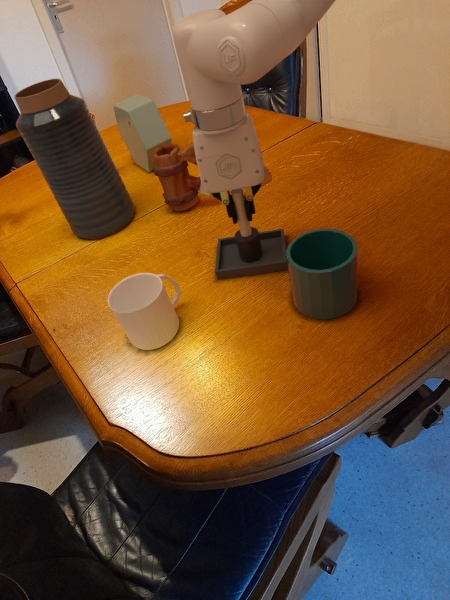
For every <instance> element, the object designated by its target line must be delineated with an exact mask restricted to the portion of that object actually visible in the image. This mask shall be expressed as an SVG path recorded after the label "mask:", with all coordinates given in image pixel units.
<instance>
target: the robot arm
mask: <svg viewBox="0 0 450 600" xmlns="http://www.w3.org/2000/svg"><path fill="white" fill-rule="evenodd" d="M335 2H336V0H251V1H249V2H247V3H246V4H243V6H241V7H239V8H237V9H235V10H233V11H232V12H230V13H228V14H226V13H225V12H224V11H223V10H222V9H218V8H209V9H204V10H199V11H195V12H194V13H190V14H188V15H185V16H183V17H181V18H179V19H178V20H177V21H176V22H175V23H174V24H173V27H172V33H171V34H172V39H173V44H174V47H175V52H176V55H177V58H178V63H179V66H180V69H181V74H182V77H183V80H184V81H183V82H184V84H185V89H186V92H187V96H188V99H189V103H190V109H189V110H188V111H186V112H185V111H184V112H183V120H184V122H185V123H189V122H190V123H192V124H193V125H194V126H193V129H192V143H193V144H194V150H195V156H196V161H197V165H196V166H197V170H198V174H199V177H200V179H201V185H200V191H199V194H200V195H204V196H209V197H211V196H212V197H213V198H215V199H217V200H218V201H220V202H222V205H224V206H225V209H226V214H227V217H228V218H229V219H231V220H232V223H233V224H232V225H236V224H238V219H237V215H236V211H235V206H234V202H233V198H232V194H231V191H232V190H235V189H241V188H242V189H243V191H244V205H245V209H246V214H247V219H248V221H249V222H250V223H251V222H253V215H255V214H256V207H255V201H254V197H255V196H256V195H257V193H258V192H259V191H260V190H261V188H262V187H264V186H265V187H266V185H268V184H270V183H271V182H272V181H273V175H272V173H271V172H270V171H269V168H267V165H266V164H265V163H264V159H263V154H262V149H261V145H260V141H259V137H258V134H257V133H258V132H257V130H256V126H255V124H254V121H253V118H252V116H251V114H250V113H248V112H246V107H245V101H244V96H243V95H244V94H243V91H242V90H243V89H242V86H241V85H250V84H252V83H253V84H254V83H255V82H257V81H258V80H260V79H262V77H264V76H265V75H266V74H268V73H269V72H270V71H272V70H273V69H274V68H275V67H276V66H277V65H279V63H281V62H283V60H285V59H286V58H287V57H289V56H290V55H291V54H292V53H293V52H295V51H296V50H297V49H298V47H300V45H301V44H302V43H303V42H304V41H305V39H306V38H308V36H309V34H310V33H311V32H312V31H313V30H314V28H315V27H316V26H317V25H318V23H319V22H321V20H322V18H323V17H324V16H325V15H326V13H327V12H328V11H329V10H330V9H331V7H332V6H333V4H334V3H335Z"/></svg>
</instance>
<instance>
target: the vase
mask: <svg viewBox="0 0 450 600" xmlns="http://www.w3.org/2000/svg"><path fill="white" fill-rule="evenodd" d="M14 99H15V102H16V104H17V107H18V109H19V111H20V114H19V116H18V118H17V120H16V122H15V126H16V128H17V131H18V132H19V133H20V136H21V138H23V141H24V143H25V144H26V147H27V148H28V150H29V152H30V154H31V156H32V158H33V159H34V161H35V163H36V165H37V167H38V169H39V171H40V173H41V174H42V176H43V178H44V180H45V182H46V184H47V186H48V188H49V190H50V191H51V192H52V195H53V197H54V199H55V201H56V202H57V205H58V207H59V208H60V211H61V212H62V214H63V216H64V218H65V220H66V222H67V223H68V225H69V228H70V229H71V231H72V232H73V234H74V235H75V236H76V237H79V238H81V239H86V240H97V239H102V238H105V237H108V236H110V235H113V234H115V233H117V232H119V231H121V230H122V229H123V228H124V227H126V226H127V225H128V224H129V222H131V220H132V219H133V217H134V214H135V213H136V206H135V204H134V201H133V199H132V197H131V195H130V193H129V191H128V189H127V187H126V184H125V183H124V181H123V179H122V176H121V174H120V172H119V170H118V169H117V166H116V165H115V163H114V161H113V159H112V156H111V154H110V152H109V151H108V148H107V147H106V144H105V142H104V140H103V138H102V136H101V133H100V132H99V129H98V128H97V125H96V123H95V121H94V119H93V118H92V115H91V113H90V111H89V109H88V108H87V104H86V102H85V100H84V99H83V98H82V97H79V96H77V95H73V94H71V93H70V92H69V90H68V89H67V87H66V86H65V84H64V83H63V81H62V79H61V78H49V79H45V80H43V81H38V82H36V83H34V84H31V85H29V86H26V87H25V88H23V89H21V90H19V91H18V92H17V93H15V94H14Z"/></svg>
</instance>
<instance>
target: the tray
mask: <svg viewBox="0 0 450 600" xmlns="http://www.w3.org/2000/svg"><path fill="white" fill-rule="evenodd" d="M258 233H259V238H260V243H261V248H262V256H261V257H260V258H259V259H258V260H256V261H253V262H244V261H242V260H241V259H240V255H239V251H238V247H237V243H236V239H235V235H234V236H227V237H221V238H217V247H216V257H215V266H214V272H215V277H216V280H217V281H218V280H226V279H233V278H241V277H247V276H255V275H262V274H268V273H269V274H270V273H275V272H283V271H289V269H288V262H287V255H286V250H287V245H286V236H285V229H284V228H277V229H270V230H265V231H258Z"/></svg>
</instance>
